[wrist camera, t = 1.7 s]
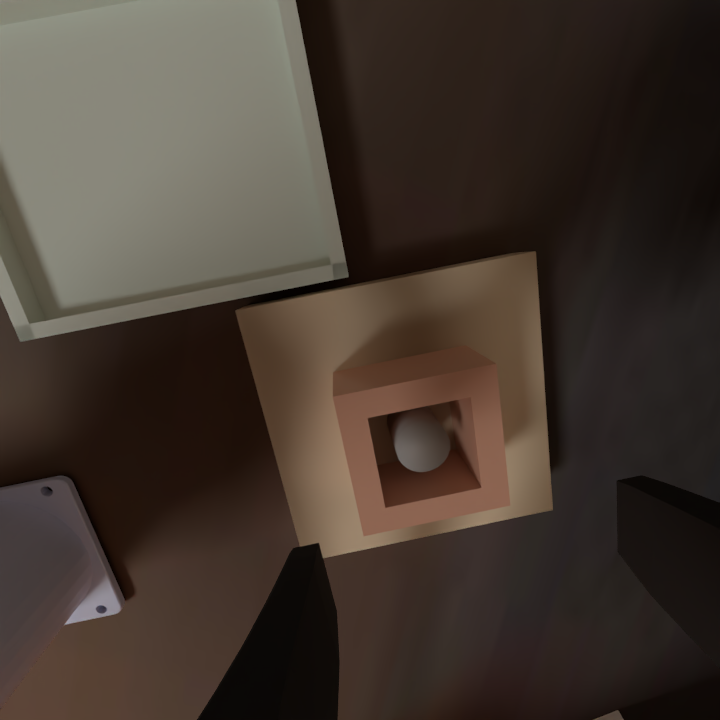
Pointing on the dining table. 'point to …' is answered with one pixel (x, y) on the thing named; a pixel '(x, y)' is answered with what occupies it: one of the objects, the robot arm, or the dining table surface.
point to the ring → (463, 465)
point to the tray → (156, 160)
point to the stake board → (388, 336)
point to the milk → (611, 716)
